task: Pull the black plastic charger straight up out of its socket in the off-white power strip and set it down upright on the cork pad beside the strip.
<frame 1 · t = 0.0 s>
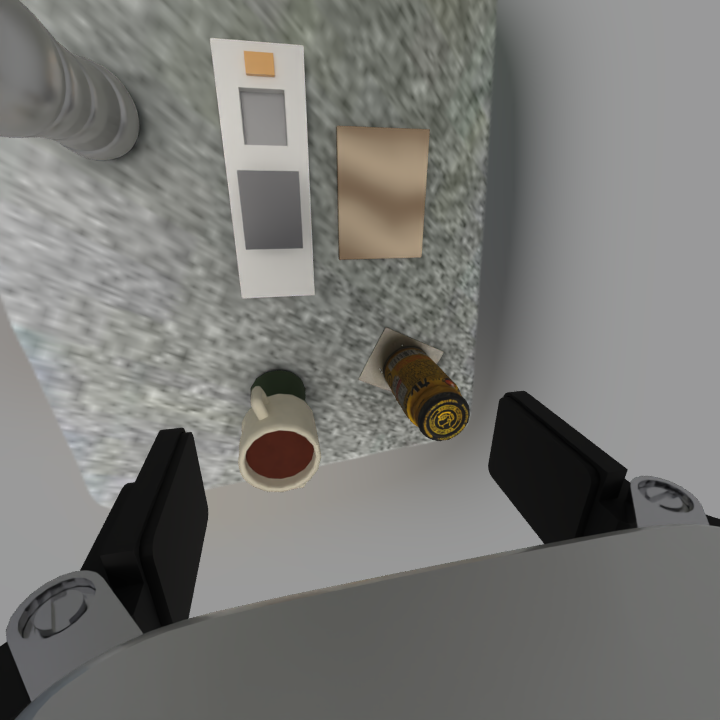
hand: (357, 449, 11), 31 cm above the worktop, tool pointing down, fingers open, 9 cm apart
cork pad: (381, 197, 38), on the worktop
power strip: (269, 185, 36), on the worktop
character mug: (278, 390, 45), on the worktop
charger: (271, 208, 34), point 3 cm above the worktop, touching power strip
plastic bottle: (104, 118, 32), on the worktop
condiment: (400, 364, 47), on the worktop
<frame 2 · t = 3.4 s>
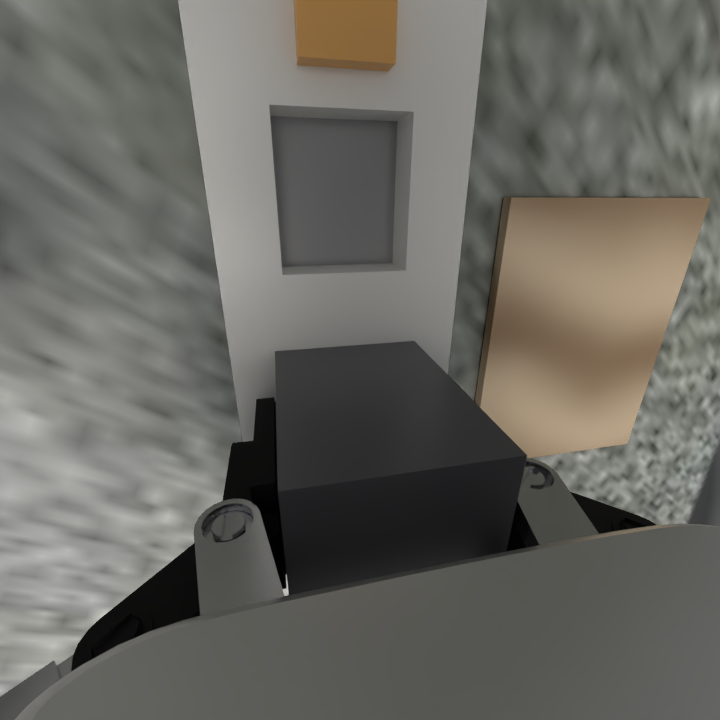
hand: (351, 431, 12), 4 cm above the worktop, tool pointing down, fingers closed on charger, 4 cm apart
cork pad: (572, 340, 17), on the worktop
power strip: (333, 336, 15), on the worktop
charger: (347, 421, 13), point 3 cm above the worktop, touching gripper, power strip
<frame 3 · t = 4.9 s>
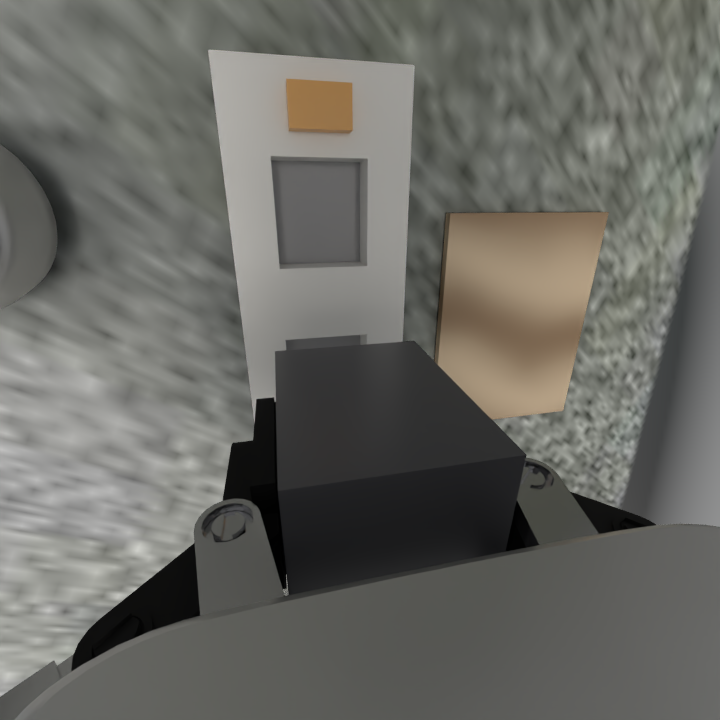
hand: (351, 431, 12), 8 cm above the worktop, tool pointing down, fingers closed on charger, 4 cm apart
cork pad: (509, 323, 22), on the worktop
power strip: (319, 318, 19), on the worktop
charger: (347, 421, 13), point 8 cm above the worktop, touching gripper
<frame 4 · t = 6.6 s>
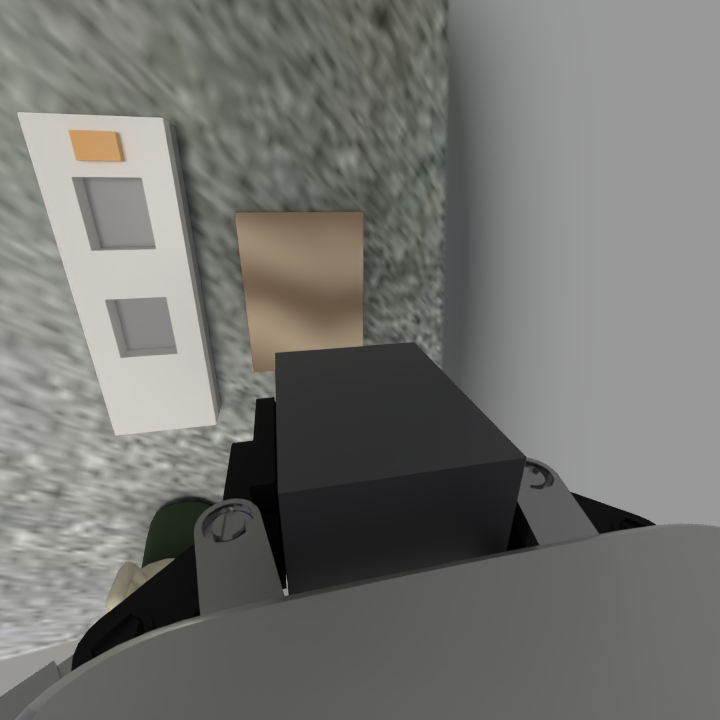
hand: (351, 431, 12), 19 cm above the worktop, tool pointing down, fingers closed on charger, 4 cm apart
cork pad: (305, 294, 29), on the worktop
power strip: (149, 288, 27), on the worktop
character mug: (189, 519, 36), on the worktop
charger: (347, 422, 13), point 18 cm above the worktop, touching gripper
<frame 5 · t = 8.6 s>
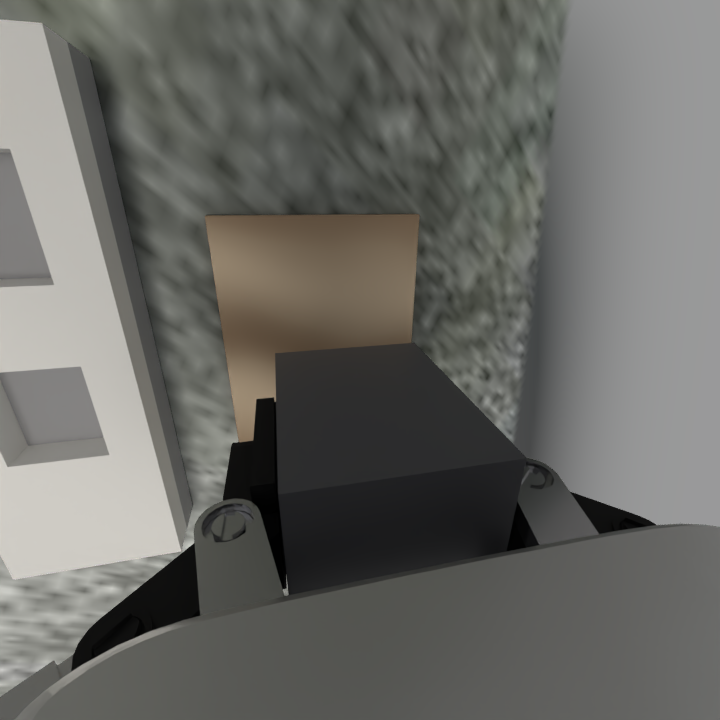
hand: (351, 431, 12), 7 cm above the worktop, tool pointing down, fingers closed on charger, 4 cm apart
cork pad: (321, 344, 19), on the worktop
power strip: (64, 341, 16), on the worktop
charger: (348, 422, 13), point 7 cm above the worktop, touching gripper
when the fingers open (4 cm above the worktop, at t = 10.1 s): charger drops 1 cm, resting on cork pad.
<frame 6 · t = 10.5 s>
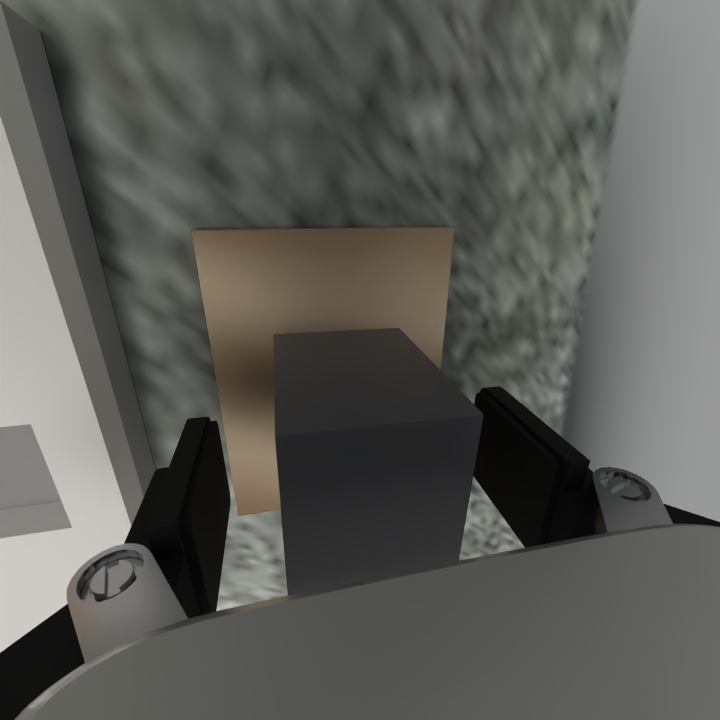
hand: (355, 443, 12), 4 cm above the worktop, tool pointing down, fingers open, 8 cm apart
cork pad: (333, 380, 16), on the worktop
power strip: (20, 383, 13), on the worktop
charger: (338, 400, 14), point 2 cm above the worktop, touching cork pad
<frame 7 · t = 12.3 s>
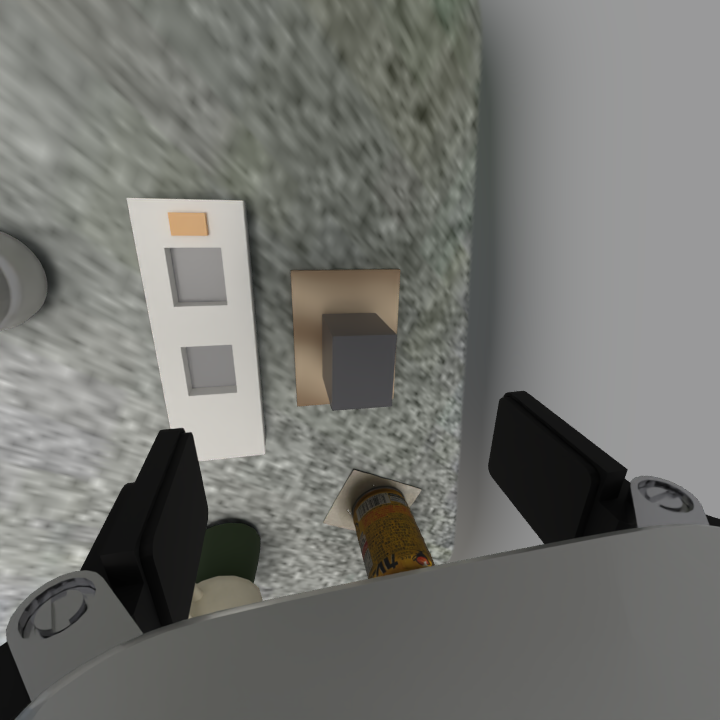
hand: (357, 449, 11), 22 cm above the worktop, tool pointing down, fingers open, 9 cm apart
cork pad: (345, 339, 33), on the worktop
power strip: (212, 333, 31), on the worktop
character mug: (229, 539, 39), on the worktop
charger: (348, 345, 32), point 2 cm above the worktop, touching cork pad
plastic bottle: (8, 273, 27), on the worktop
condiment: (372, 503, 41), on the worktop
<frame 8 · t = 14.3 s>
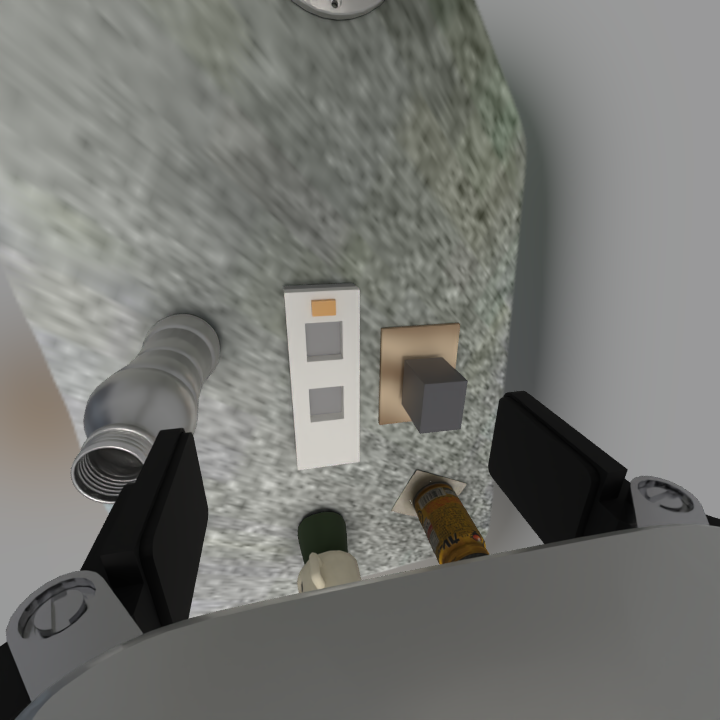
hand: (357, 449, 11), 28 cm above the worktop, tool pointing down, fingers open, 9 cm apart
cork pad: (417, 374, 44), on the worktop
power strip: (322, 375, 42), on the worktop
character mug: (321, 524, 50), on the worktop
charger: (421, 380, 43), point 2 cm above the worktop, touching cork pad
plastic bottle: (189, 340, 37), on the worktop
condiment: (428, 495, 52), on the worktop
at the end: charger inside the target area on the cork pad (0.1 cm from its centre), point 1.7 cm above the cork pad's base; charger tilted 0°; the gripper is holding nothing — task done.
